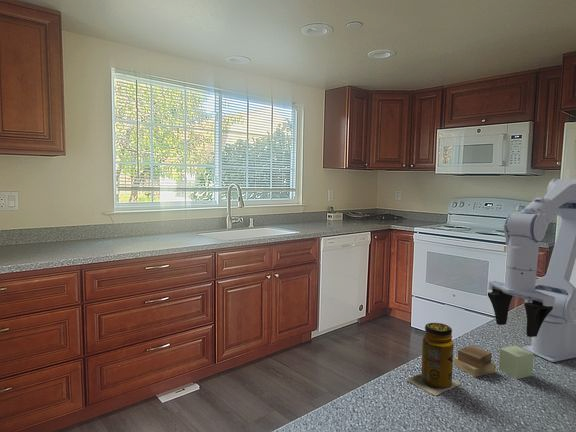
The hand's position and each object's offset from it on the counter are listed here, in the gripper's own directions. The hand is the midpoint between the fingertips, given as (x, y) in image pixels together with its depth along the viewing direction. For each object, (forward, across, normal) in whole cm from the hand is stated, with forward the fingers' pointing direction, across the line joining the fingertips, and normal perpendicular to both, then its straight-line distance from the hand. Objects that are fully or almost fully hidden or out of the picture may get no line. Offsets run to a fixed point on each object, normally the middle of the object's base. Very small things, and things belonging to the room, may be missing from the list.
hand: (515, 330), depth 85 cm
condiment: (+11, -2, -19) cm, 22 cm away
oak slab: (+10, -5, -6) cm, 13 cm away
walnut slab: (+8, -5, -6) cm, 11 cm away
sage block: (+10, 0, +1) cm, 10 cm away
